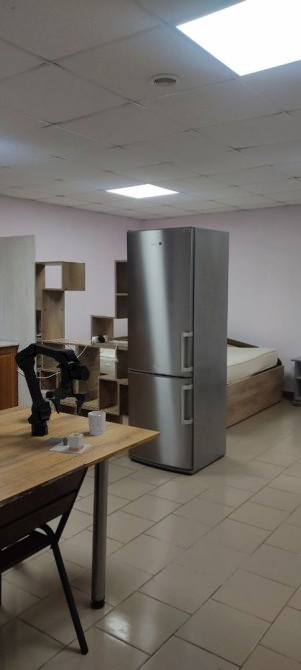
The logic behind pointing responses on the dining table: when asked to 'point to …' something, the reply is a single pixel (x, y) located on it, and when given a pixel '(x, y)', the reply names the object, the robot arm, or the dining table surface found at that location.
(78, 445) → the sleeve
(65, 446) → the pin board
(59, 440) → the mat
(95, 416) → the white cup
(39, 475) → the dining table surface
